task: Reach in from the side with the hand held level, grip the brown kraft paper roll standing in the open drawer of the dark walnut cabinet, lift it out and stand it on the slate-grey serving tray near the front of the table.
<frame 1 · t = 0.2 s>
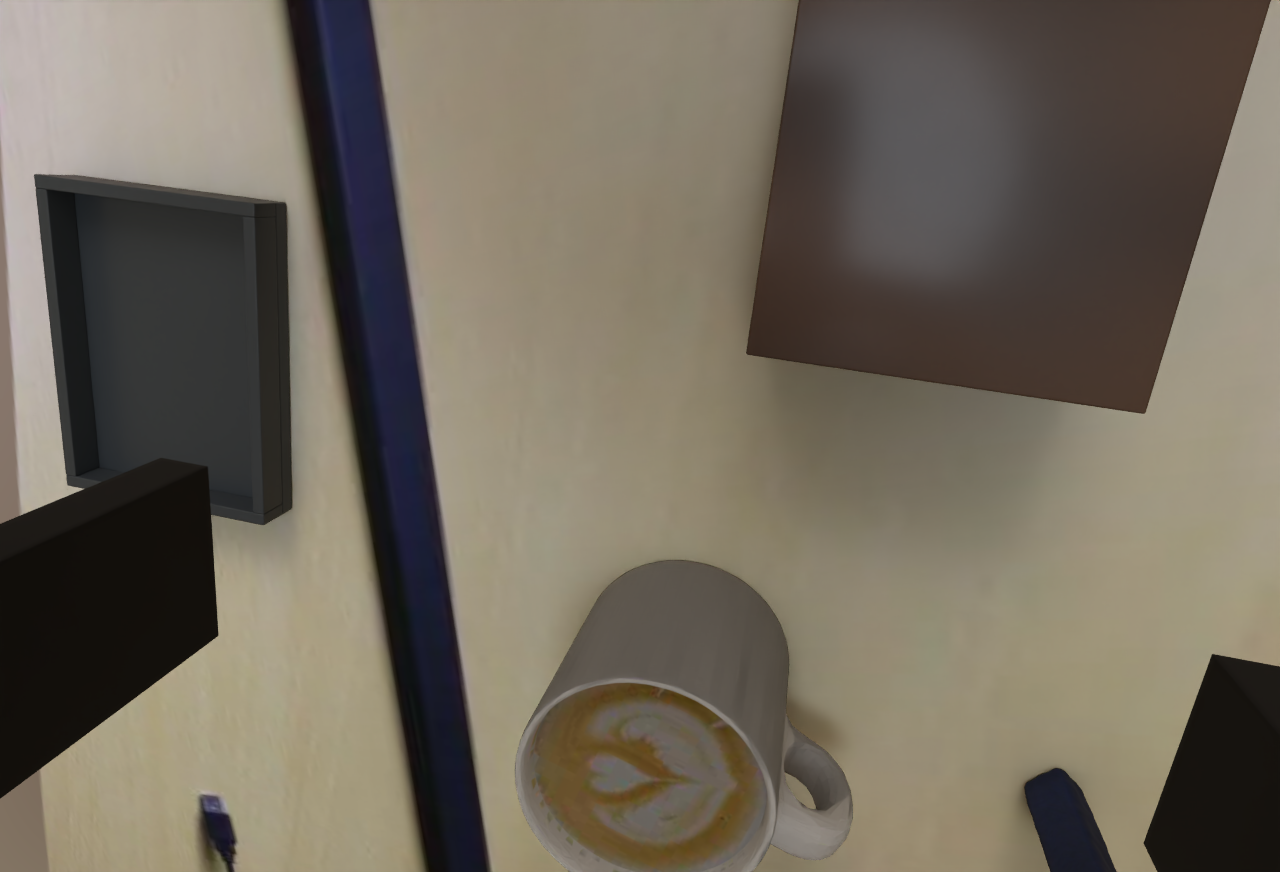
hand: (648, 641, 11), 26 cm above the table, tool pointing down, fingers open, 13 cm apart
tray: (187, 347, 41), on the table
cabinet: (951, 170, 32), on the table
coffee mug: (713, 674, 40), on the table
eraser: (1051, 786, 38), on the table
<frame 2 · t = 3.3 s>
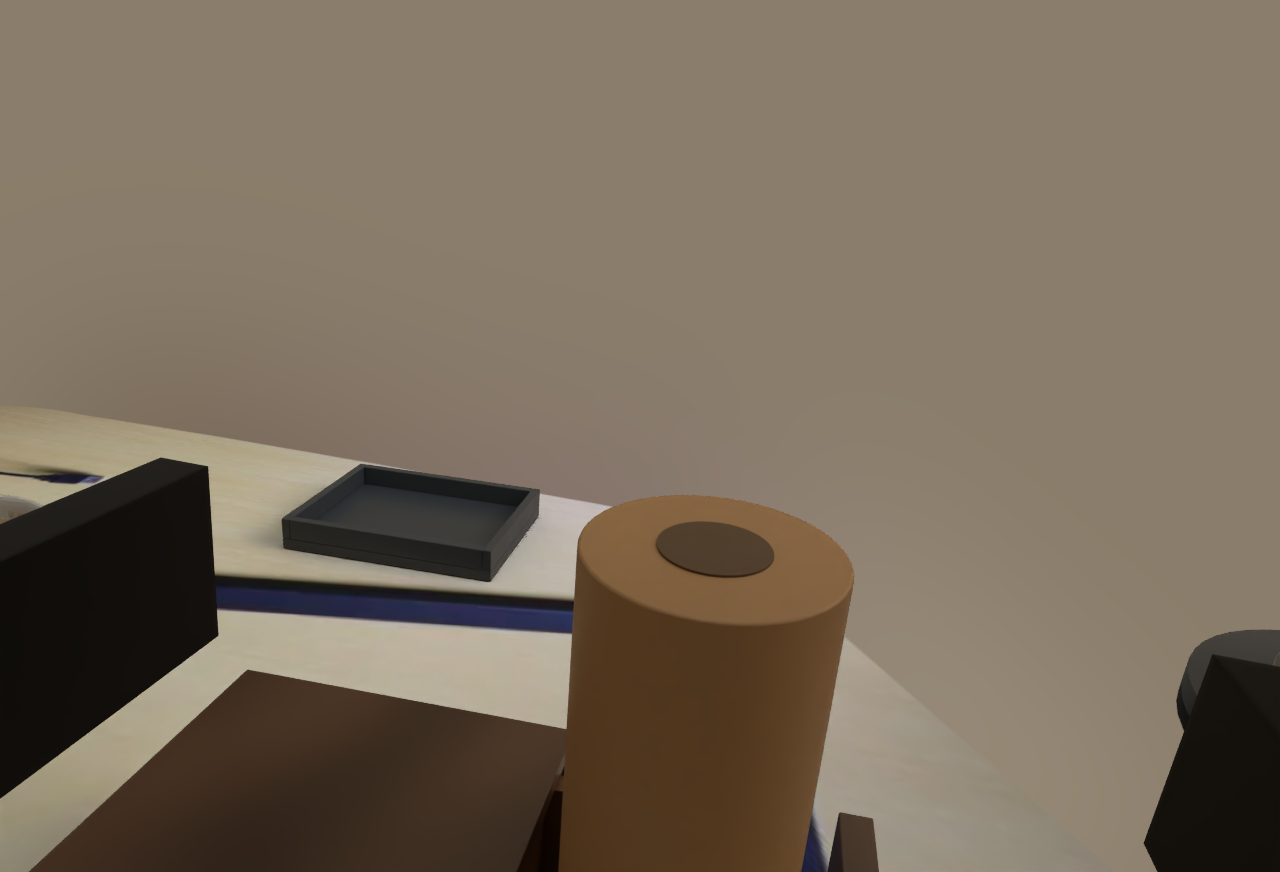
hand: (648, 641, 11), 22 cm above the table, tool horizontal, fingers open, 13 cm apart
tray: (419, 531, 63), on the table
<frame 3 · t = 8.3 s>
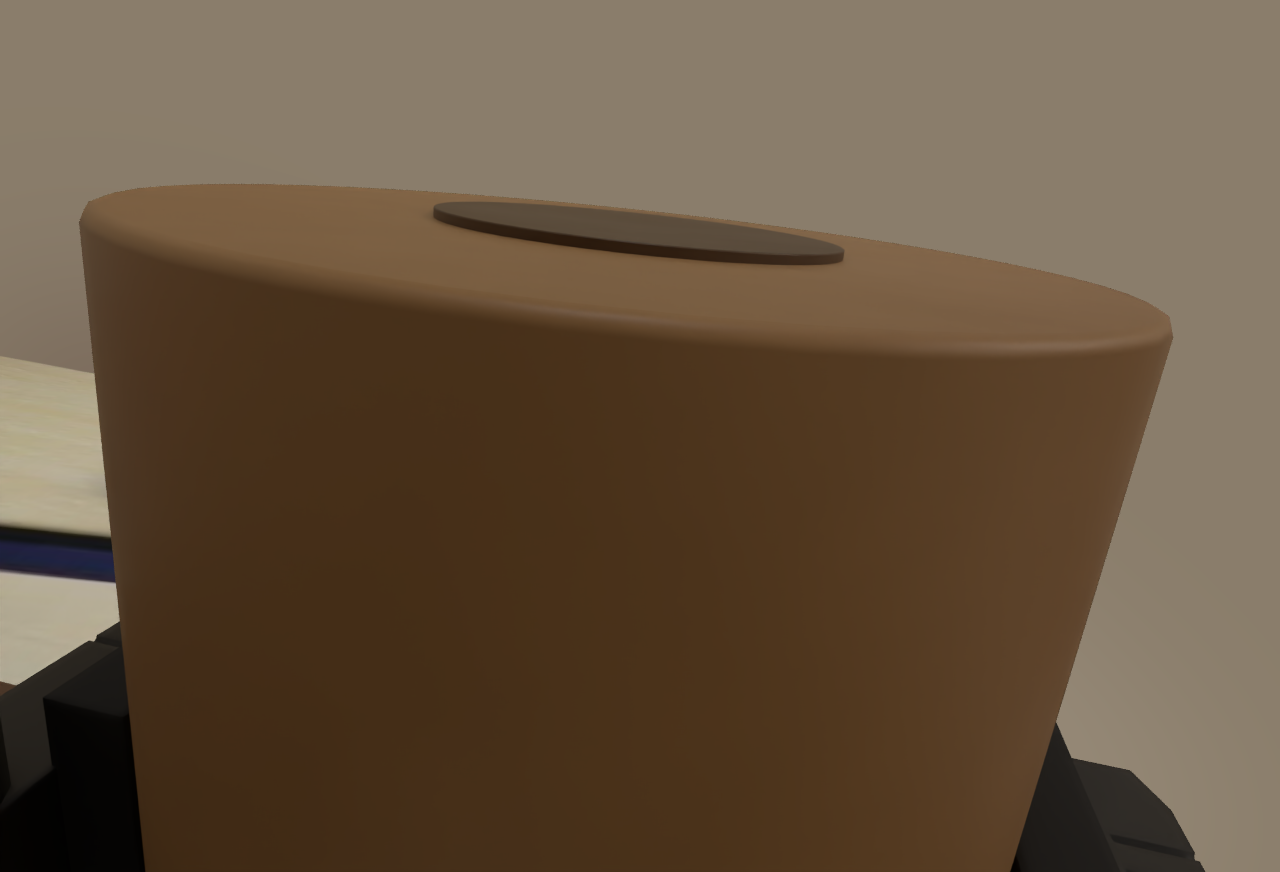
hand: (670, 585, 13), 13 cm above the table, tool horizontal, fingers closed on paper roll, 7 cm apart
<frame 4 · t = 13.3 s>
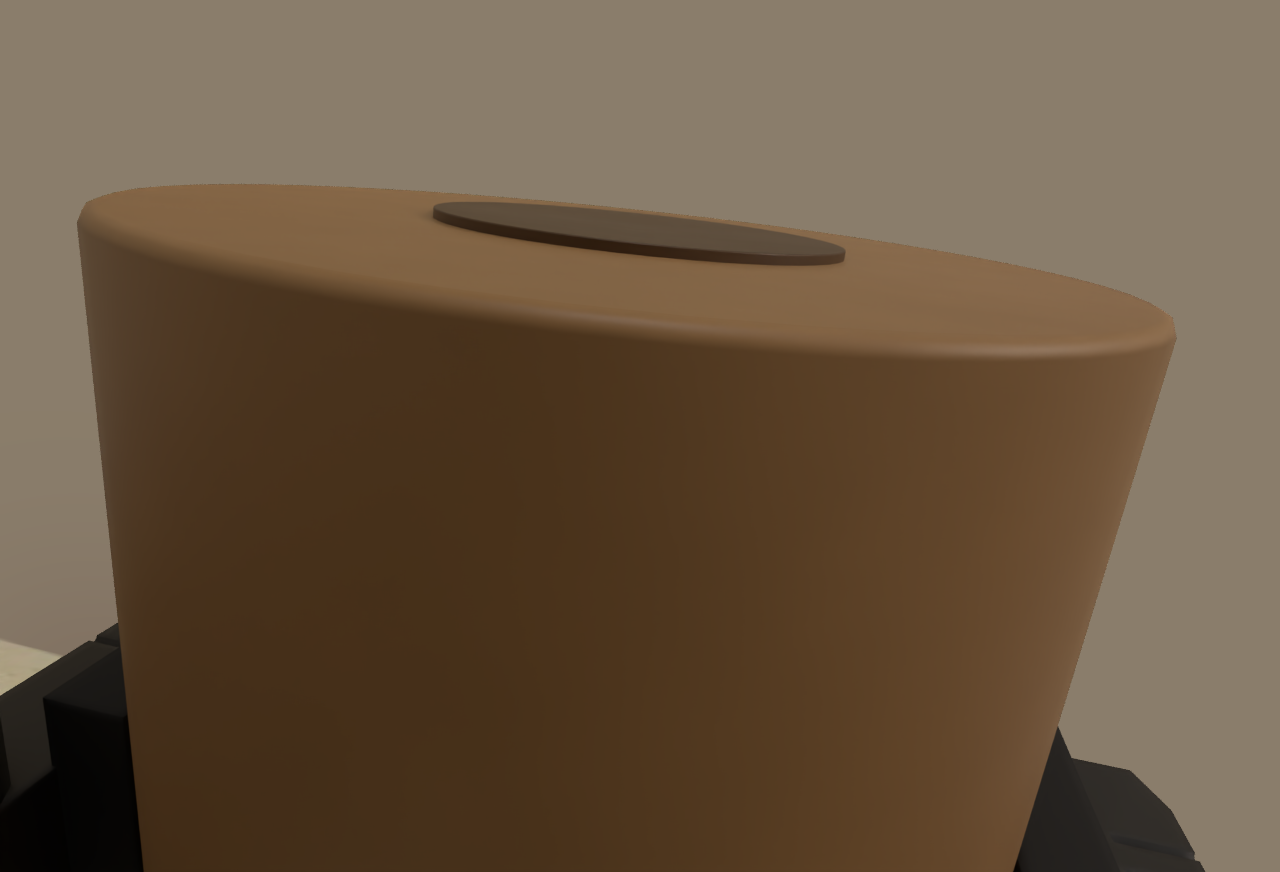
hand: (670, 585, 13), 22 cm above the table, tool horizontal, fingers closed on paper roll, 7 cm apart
when the fingers open (12 cm above the table, at t = 18.3 s): paper roll stays where it is, resting on tray.
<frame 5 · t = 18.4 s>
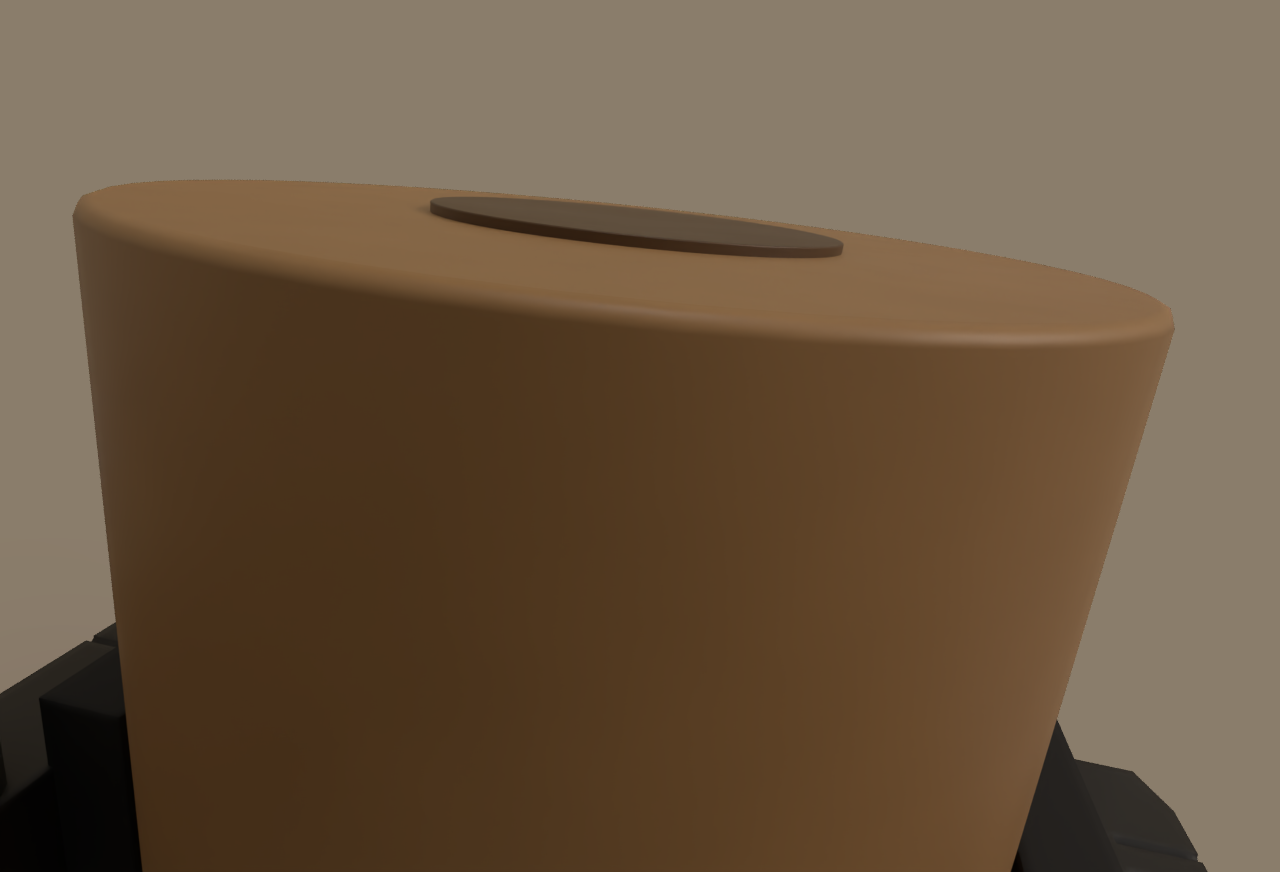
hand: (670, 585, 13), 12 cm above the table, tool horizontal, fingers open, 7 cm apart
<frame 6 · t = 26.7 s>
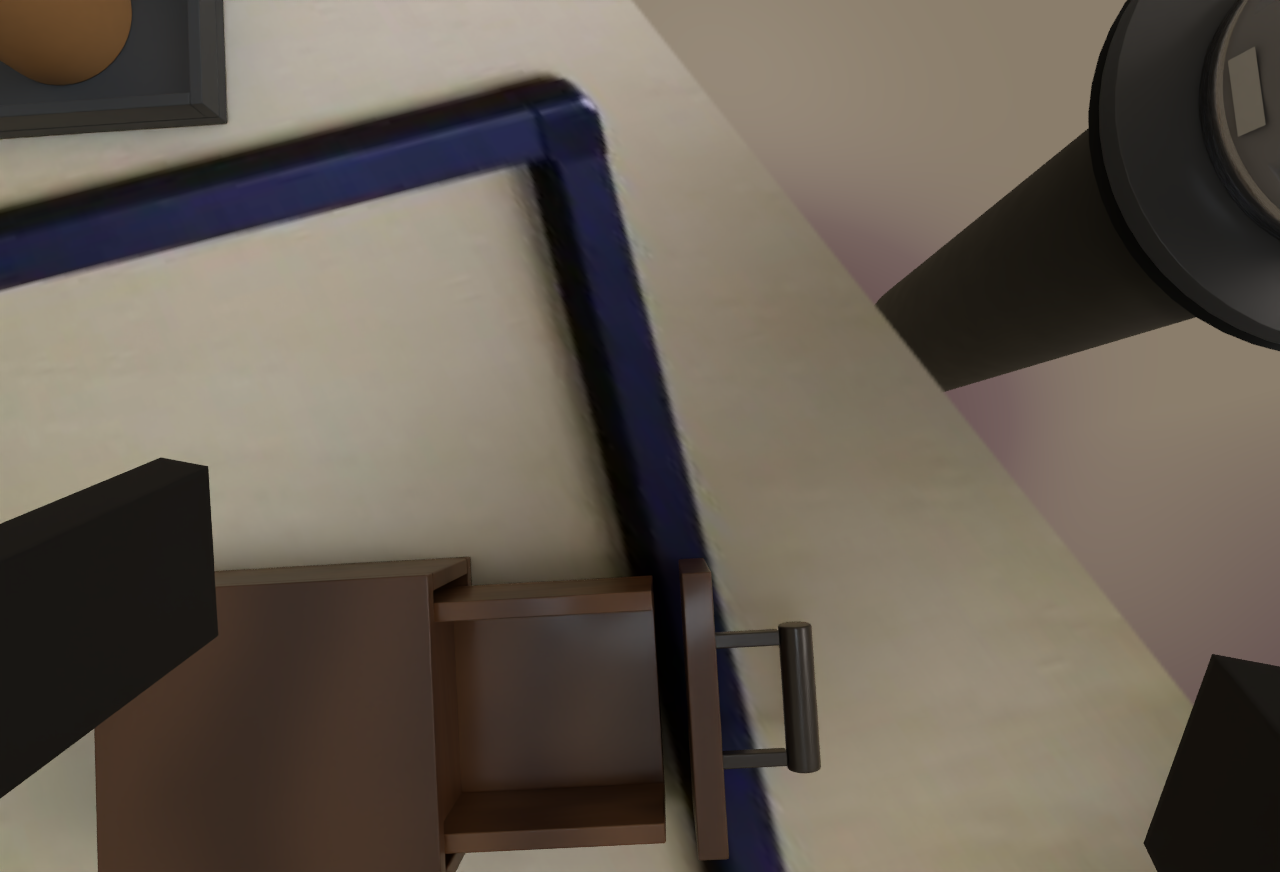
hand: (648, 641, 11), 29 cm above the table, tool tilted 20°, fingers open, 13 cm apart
tray: (75, 25, 42), on the table
cabinet: (337, 694, 40), on the table
drawer: (620, 700, 36), point 4 cm above the table, slide at 10.0 cm
paper roll: (63, 16, 41), point 1 cm above the table, touching tray
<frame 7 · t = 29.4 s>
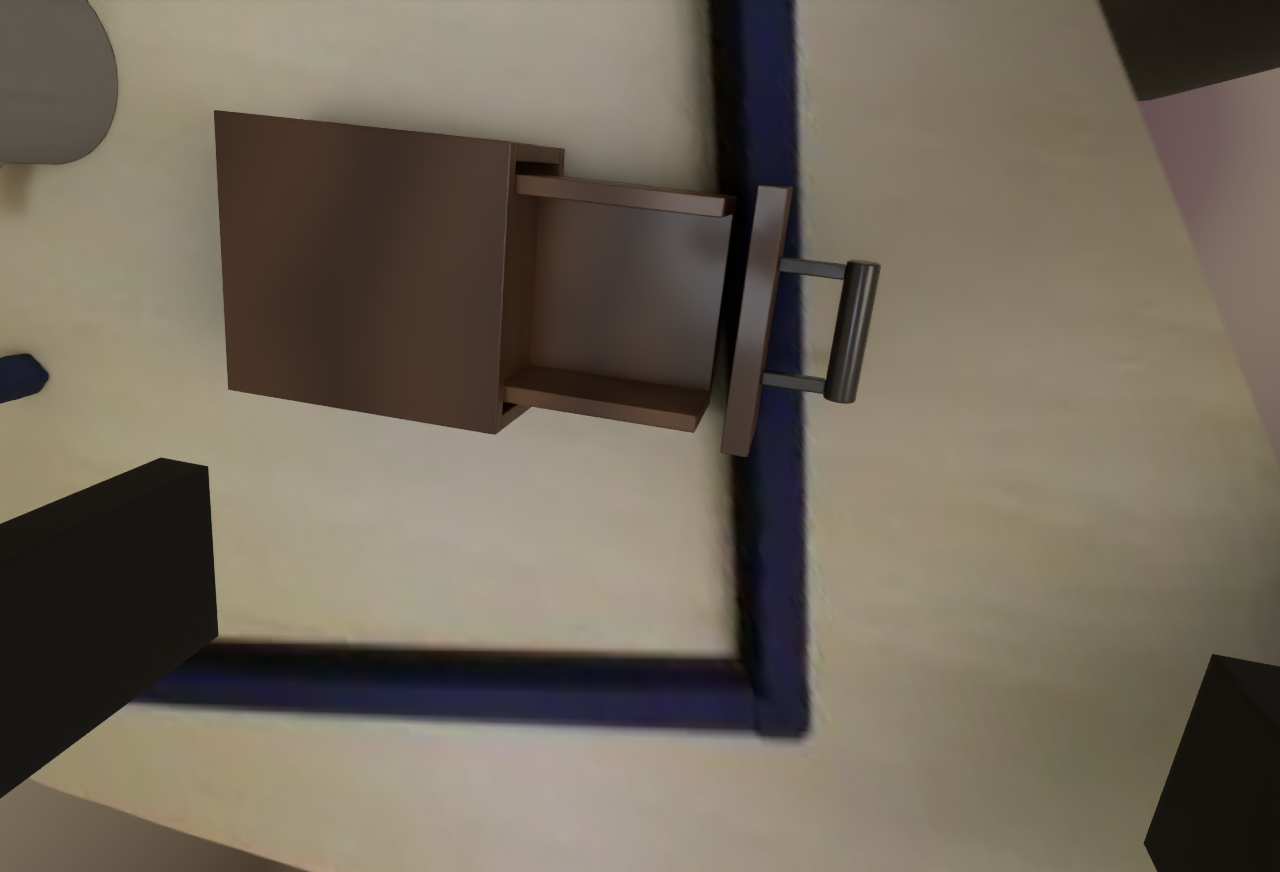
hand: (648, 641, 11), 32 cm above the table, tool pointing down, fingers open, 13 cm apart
cabinet: (432, 261, 44), on the table
drawer: (680, 306, 38), point 4 cm above the table, slide at 10.0 cm
coffee mug: (31, 96, 46), on the table
eraser: (35, 372, 51), on the table
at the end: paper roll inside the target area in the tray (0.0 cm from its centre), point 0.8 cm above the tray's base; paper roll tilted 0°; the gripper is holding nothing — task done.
